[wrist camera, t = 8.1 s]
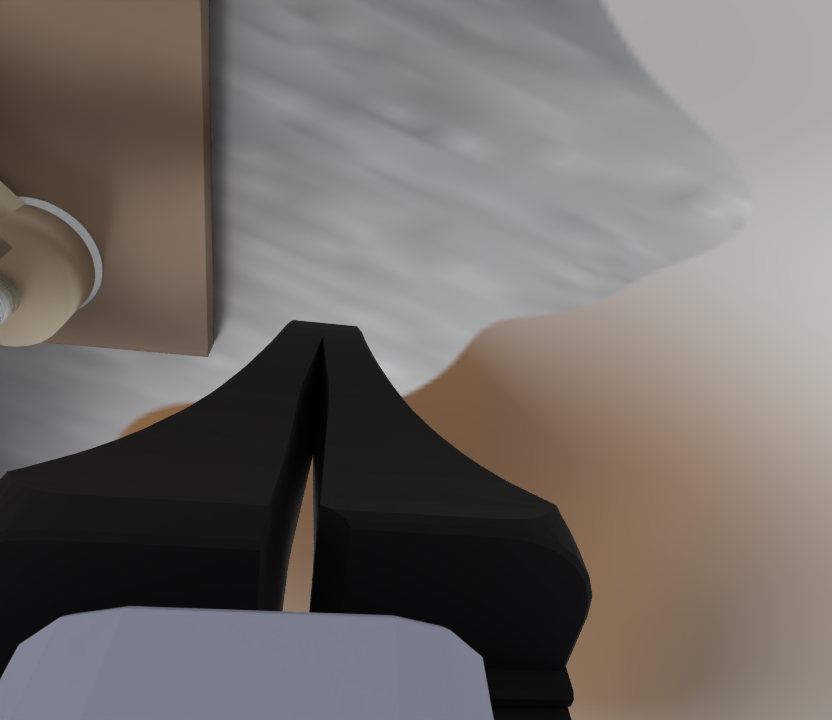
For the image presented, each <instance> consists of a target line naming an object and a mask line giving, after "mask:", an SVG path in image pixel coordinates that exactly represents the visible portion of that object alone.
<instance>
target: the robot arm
mask: <svg viewBox="0 0 832 720" xmlns="http://www.w3.org/2000/svg"><path fill="white" fill-rule="evenodd" d="M312 456H313V500H314V501H313V505H314V562H313V578H312V589H311V601H310V611H309V612H283V611H282V610H283V602H284V601H283V600H284V594H285V586H286V578H287V570H288V564H289V559H290V553H291V547H292V543H293V539H294V535H295V530H296V526H297V522H298V517H299V513H300V509H301V504H302V500H303V495H304V491H305V487H306V482H307V478H308V474H309V470H310V465H311V461H312ZM591 599H592V591H591V584H590V579H589V575H588V572H587V569H586V567H585V565H584V562H583V559H582V557H581V554H580V552H579V549H578V547H577V545H576V543H575V541H574V539H573V536H572V534H571V532H570V530H569V529H568V527H567V525H566V523H565V521H564V520H563V518H562V516H561V514H560V512H559V510H558V508H557V506H556V505H554V504H552V503H550V502H548V501H546V500H544V499H542V498H540V497H538V496H536V495H533V494H532V493H529V492H527V491H525V490H523V489H521V488H519V487H517V486H515V485H513V484H511V483H509V482H507V481H505V480H504V479H502V478H500V477H499V476H497V475H495V474H493V473H492V472H490V471H489V470H487V469H485V468H484V467H482V466H480V465H479V464H477V463H476V462H474V461H473V460H471V459H470V458H468V457H467V456H465V455H464V454H463V453H461V452H460V451H459V450H457V449H456V448H455V447H453V446H452V445H451V444H450V443H448V442H447V441H446V440H444V439H443V438H442V437H441V436H440V435H438V434H437V433H436V432H435V431H434V430H432V429H431V428H430V427H429V426H428V425H427V424H426V423H425V422H424V421H423V420H422V419H421V418H420V417H419V416H418V415H417V414H416V413H415V412H414V411H413V410H412V409H411V408H410V407H409V406H408V404H407V403H406V402H405V401H404V400H403V398H402V397H401V396H400V395H399V393H398V392H397V391H396V389H395V388H394V387H393V385H392V384H391V383H390V381H389V380H388V378H387V377H386V375H385V374H384V372H383V371H382V369H381V368H380V366H379V365H378V363H377V361H376V360H375V358H374V356H373V354H372V353H371V351H370V349H369V347H368V345H367V343H366V341H365V339H364V337H363V334H362V332H361V331H360V330H359V328H358V327H357V326H347V325H337V324H327V323H316V322H306V321H296V320H292V321H291V322H290V323H288V324H287V325H286V326H285V327H284V328H283V330H282V331H281V332H280V333H279V334H278V335H277V336H276V337H275V338H274V340H273V341H272V342H271V343H270V344H269V345H268V346H267V347H266V348H265V349H264V350H263V351H262V352H260V353H259V354H258V355H257V356H256V357H255V358H254V359H253V360H252V361H251V362H250V363H249V364H248V365H246V366H245V367H244V368H243V369H242V370H241V371H239V372H238V373H237V374H235V375H234V376H233V377H232V378H230V379H229V380H228V381H227V382H225V383H224V384H223V385H222V386H220V387H219V388H218V389H216V390H215V391H213V392H212V393H211V394H209V395H207V396H206V397H204V398H202V399H201V400H199V401H197V402H196V403H194V404H193V405H191V406H189V407H187V408H186V409H184V410H182V411H180V412H178V413H176V414H174V415H172V416H169V417H167V418H166V419H164V420H161V421H159V422H157V423H155V424H153V425H151V426H149V427H147V428H145V429H142V430H140V431H138V432H135V433H133V434H130V435H128V436H125V437H123V438H120V439H117V440H115V441H112V442H109V443H106V444H103V445H101V446H98V447H95V448H92V449H89V450H86V451H83V452H79V453H76V454H73V455H69V456H65V457H62V458H58V459H54V460H51V461H47V462H43V463H40V464H36V465H32V466H28V467H25V468H21V469H16V470H12V471H8V472H7V473H6V474H5V475H4V476H3V477H2V478H1V479H0V720H571V717H570V713H569V710H568V707H570V706H571V705H572V702H573V700H574V698H573V689H572V685H571V682H570V679H569V675H568V672H567V669H566V664H567V662H568V660H569V658H570V655H571V653H572V651H573V648H574V646H575V644H576V641H577V639H578V637H579V634H580V632H581V630H582V627H583V625H584V623H585V620H586V618H587V615H588V611H589V607H590V603H591Z"/></svg>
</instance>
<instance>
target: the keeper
mask: <svg viewBox="0 0 832 720" xmlns="http://www.w3.org/2000/svg"><path fill="white" fill-rule="evenodd" d="M17 197H18V198H19V199H20V200H21V201H23V202H24V203H25V204H27V205H32V206H36V207H39V208H42V209H44V210H46V211H49V212H51V213H53V214H54V215H56V216H58V217H59V218H61V219H62V220H64V221H65V222H66V223H68V224H69V225H70V226H71V227H72V228H73V229H74V230H75V231H76V232H77V233H78V234H79V235H80V237H81V238H82V239H83V241H84V242H85V244H86V245H87V247H88V249H89V251H90V253H91V255H92V258H93V262H94V267H95V282H94V286H93V289H92V292H91V294H90V296H89V297H88V298H87V300H86V301H85V302H84V303H83V304H82V305H81V306H80V308H82V307H83V306H85V305H86V304H87V303H89V302H90V301H91V300H92V299H93V297H94V296H95V295H96V293H97V292H98V290H99V288H100V286H101V283H102V279H103V261H102V256H101V253H100V250H99V247H98V245H97V243H96V241H95V240H94V238H93V236H92V235H91V233H90V232H89V231H88V230H87V228H86V227H85V226H84V225H83V224H82V223H81V222H80V221H79V220H78V219H77V218H75V217H74V216H73V215H72V214H70V213H69V212H68V211H66V210H65V209H63V208H61V207H59V206H57V205H55V204H53V203H51V202H48V201H46V200H42V199H39V198H34V197H29V196H17ZM19 305H20V295H19V292H18V289H17V288H16V286H15V285H14V283H13V282H12V281H11V280H10V279H9V278H7V277H6V276H4V275H3V274H1V273H0V325H1V324H2V323H3V322H4V321H5V320H6V319H7V318H9V317H10V316H11V315H12V314H13V313H14V312H15V311H16V310H17V309H18V307H19ZM80 308H79V309H80Z"/></svg>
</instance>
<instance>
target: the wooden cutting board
mask: <svg viewBox="0 0 832 720" xmlns="http://www.w3.org/2000/svg"><path fill="white" fill-rule="evenodd" d="M0 181H1V182H2V183H3V184H4V185H5V186H6V187H8V188H9V189H10V190H11V191H12V192H13V193H14V194H15V195H16V196H29V197H34V198H39V199H42V200H46V201H48V202H51V203H53V204H55V205H57V206H59V207H61V208H63V209H65V210H66V211H68V212H69V213H70V214H72V215H73V216H74V217H75V218H77V219H78V220H79V221H80V222H81V223H82V224H83V225H84V226H85V227H86V228H87V230H88V231H89V232H90V233H91V235H92V236H93V238H94V240H95V241H96V243H97V245H98V247H99V250H100V253H101V256H102V261H103V279H102V283H101V286H100V288H99V290H98V292H97V293H96V295H95V296H94V297H93V299H92V300H91V301H90V302H89V303H87V304H86V305H85V306H83V307H82V308H80V309H78V310H77V311H76V312H75V313H74V314H73V315H72V316H71V317H70V318H69V319H68V320H67V321H66V323H65V324H64V325H63V326H62V327H61V328H60V329H59V330H58V331H57V332H56V333H55V334H54V335H53V336H51V337H50V338H48V339H47V340H45V341H42V342H47V343H58V344H69V345H80V346H91V347H103V348H114V349H125V350H136V351H147V352H159V353H170V354H181V355H192V356H203V357H208V355H209V353H210V351H211V348H212V346H213V344H214V313H213V248H212V182H211V117H210V51H209V0H0Z"/></svg>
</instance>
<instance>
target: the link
mask: <svg viewBox="0 0 832 720" xmlns="http://www.w3.org/2000/svg"><path fill="white" fill-rule="evenodd" d="M0 273H1V274H3V275H4V276H6V277H7V278H9V279H10V280H11V281H12V282H13V283H14V285H15V286H16V288H17V289H18V292H19V295H20V305H19V307H18V309H17V310H16V311H15V312H14V313H13V314H12V315H11V316H10V317H9V318H7V319H6V320H5V321H4V322H3V323H2V324H1V325H0V345H3V346H13V347H20V346H29V345H34V344H37V343H40V342H42V341H45V340H47V339H48V338H50V337H51V336H53V335H54V334H55V333H56V332H57V331H58V330H59V329H60V328H61V327H62V326H63V325H64V324H65V323H66V321H67V320H68V319H69V318H70V317H71V316H72V315H73V314H74V313H75V312H76V311H77V310H78V309H79V308H80V306H81V305H82V304H83V303H84V302H85V301H86V300H87V298H88V297H89V296H90V294H91V292H92V289H93V286H94V282H95V267H94V262H93V258H92V255H91V253H90V251H89V249H88V247H87V245H86V244H85V242H84V241H83V239H82V238H81V237H80V235H79V234H78V233H77V232H76V231H75V230H74V229H73V228H72V227H71V226H70V225H69V224H68V223H66V222H65V221H64V220H62V219H61V218H59V217H58V216H56V215H54V214H53V213H51V212H49V211H46V210H44V209H42V208H39V207H36V206H32V205H27V204H25V203H24V202H23V201H21V200H20V199H19V198H18V197H17V196H16V195H15V194H14V193H13V192H12V191H11V190H10V189H9V188H8V187H6V186H5V185H4V184H3V183H2V182H1V181H0Z"/></svg>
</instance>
